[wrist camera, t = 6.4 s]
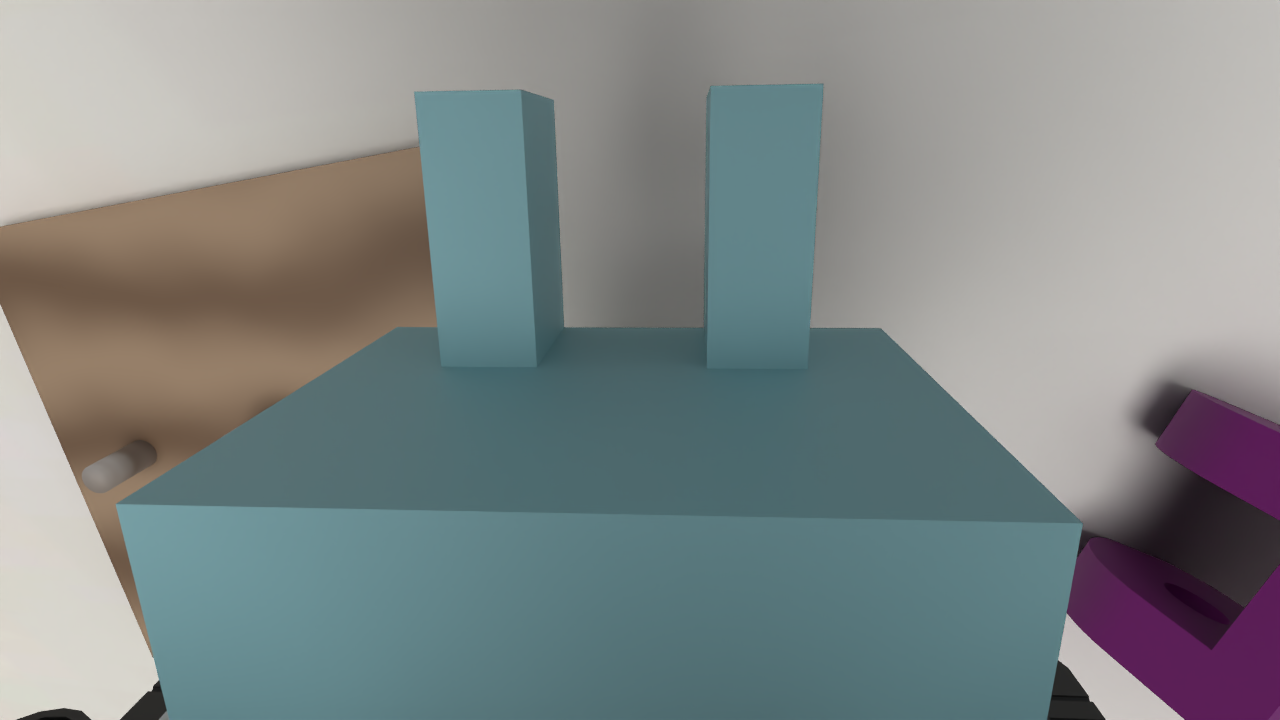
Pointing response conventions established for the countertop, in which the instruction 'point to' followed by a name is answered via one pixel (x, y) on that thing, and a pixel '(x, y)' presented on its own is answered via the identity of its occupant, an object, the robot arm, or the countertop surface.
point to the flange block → (608, 488)
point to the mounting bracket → (1193, 584)
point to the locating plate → (207, 312)
